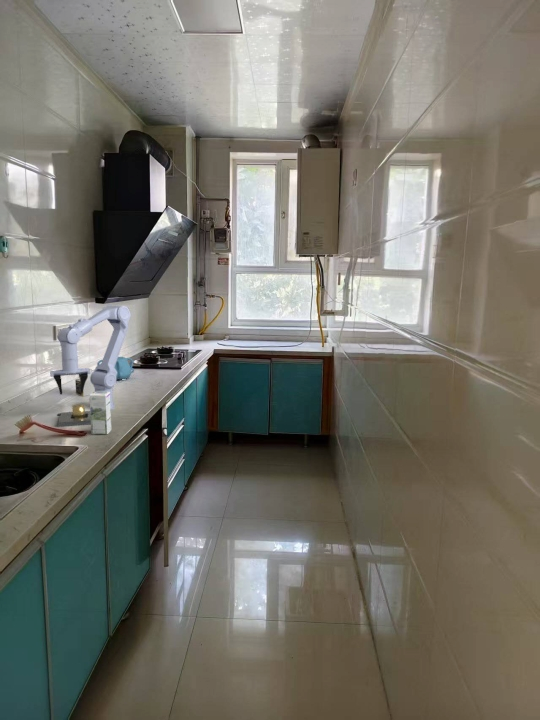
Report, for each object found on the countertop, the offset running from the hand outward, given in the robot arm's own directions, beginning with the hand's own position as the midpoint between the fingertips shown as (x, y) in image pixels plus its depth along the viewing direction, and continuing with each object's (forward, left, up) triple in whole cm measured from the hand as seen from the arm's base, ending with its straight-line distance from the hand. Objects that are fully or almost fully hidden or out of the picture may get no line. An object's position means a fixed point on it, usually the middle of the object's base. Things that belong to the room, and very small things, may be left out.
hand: (71, 393), depth 201 cm
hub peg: (+8, +3, -9) cm, 12 cm away
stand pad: (-2, -3, -9) cm, 10 cm away
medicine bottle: (-39, +4, -10) cm, 40 cm away
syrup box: (+25, +11, -10) cm, 29 cm away
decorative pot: (-72, +18, -10) cm, 75 cm away
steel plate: (+8, +3, -9) cm, 13 cm away
